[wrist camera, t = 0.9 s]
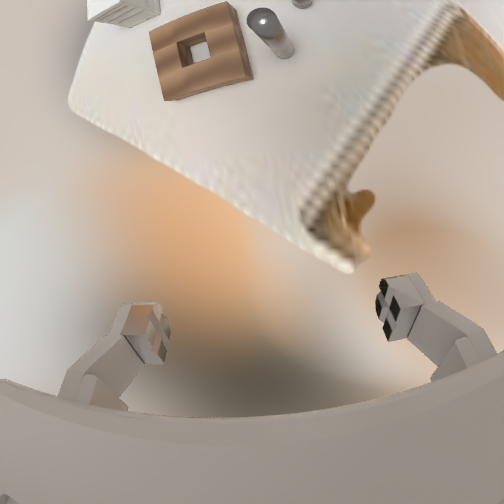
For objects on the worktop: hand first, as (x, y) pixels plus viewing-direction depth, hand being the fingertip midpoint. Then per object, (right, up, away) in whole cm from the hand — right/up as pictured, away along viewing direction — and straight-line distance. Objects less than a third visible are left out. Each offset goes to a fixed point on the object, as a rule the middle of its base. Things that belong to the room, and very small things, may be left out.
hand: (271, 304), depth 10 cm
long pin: (+4, +34, +25) cm, 42 cm away
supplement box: (-21, +49, +23) cm, 58 cm away
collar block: (-9, +35, +27) cm, 45 cm away
